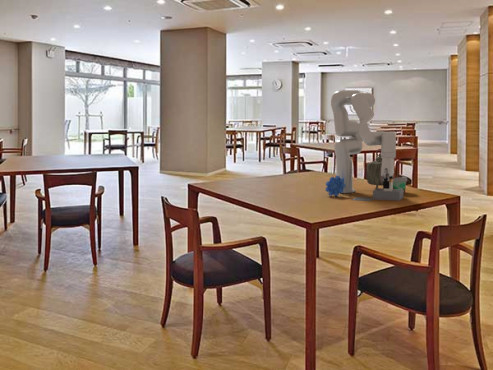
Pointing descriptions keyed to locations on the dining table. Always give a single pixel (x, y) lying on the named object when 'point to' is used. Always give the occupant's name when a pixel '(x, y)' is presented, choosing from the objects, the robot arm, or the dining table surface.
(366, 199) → the mat
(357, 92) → the robot arm
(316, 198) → the dining table surface
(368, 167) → the tabletop clock
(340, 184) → the blue gear
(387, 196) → the grey rectangular box
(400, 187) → the food container
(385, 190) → the plug
